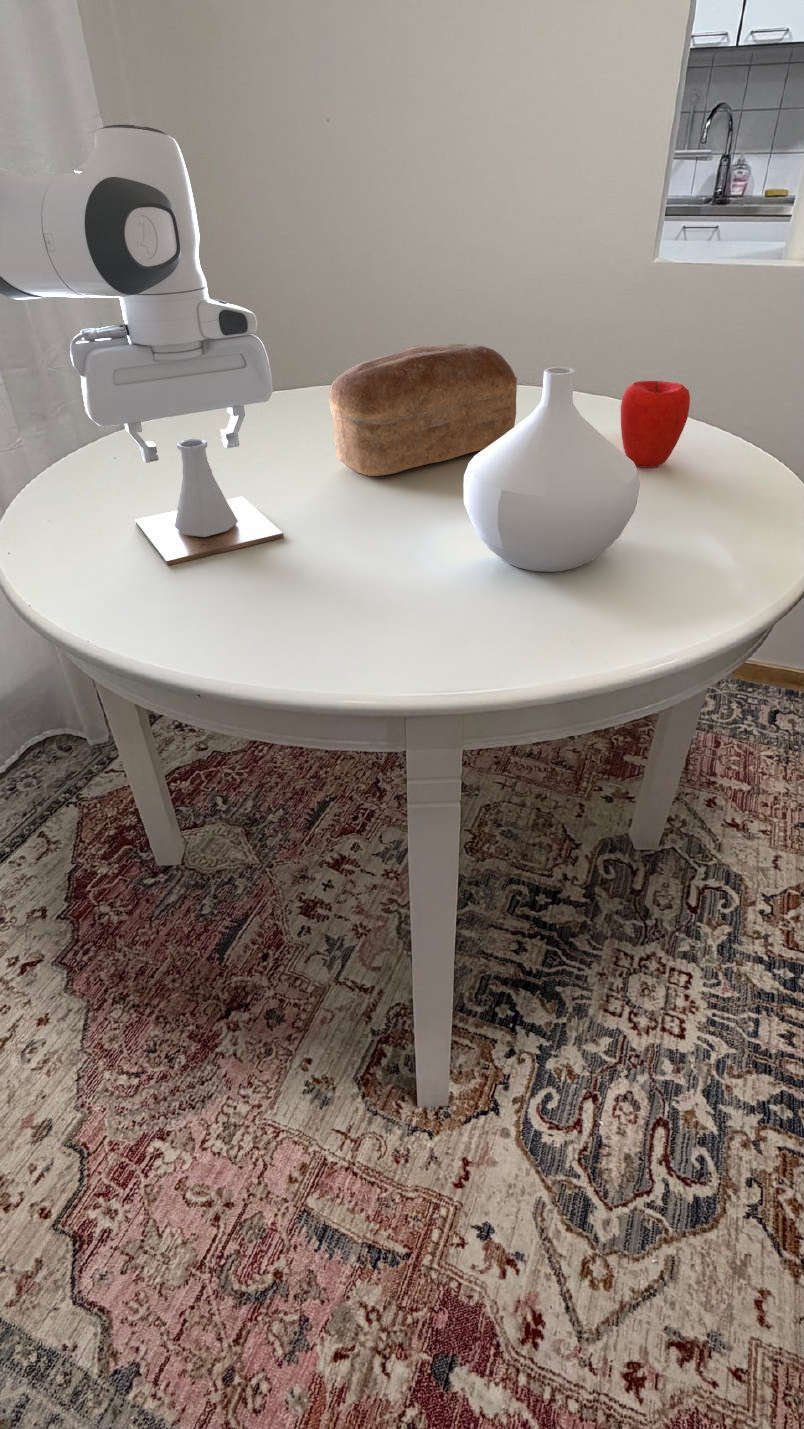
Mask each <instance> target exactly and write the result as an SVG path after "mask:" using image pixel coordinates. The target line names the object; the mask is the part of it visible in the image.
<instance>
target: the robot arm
mask: <svg viewBox="0 0 804 1429" xmlns="http://www.w3.org/2000/svg"><path fill="white" fill-rule="evenodd" d="M93 143H94V149H93V151H92V152H91V154H90V155H89V157H88V158H87V159H86V160H85V161H84V162H82V163H81V165H79V166H78V167H76V168H74V169H73V172H68V173H67V172H66V173H54V174H53V173H51V174H50V173H49V174H48V173H47V174H45V173H44V174H24V173H19V172H16V171H13V170H10V169H7V168H5V167H2V166H0V295H2V296H4V297H6V298H9V299H13V300H21V301H22V300H33V299H45V298H51V297H57V298H58V297H59V298H85V299H86V298H88V299H91V298H109V299H110V298H111V299H112V298H114V299H116V298H117V299H118V298H119V301H120V306H121V310H122V318H123V321H124V324H118V325H109V326H105V327H101V328H93V327H90V328H89V327H88V328H85V329H82V330H80V333H79V334H77V335H76V336H74V338H73V339H72V340H71V342H70V345H69V354H70V359H71V362H72V366H73V368H74V370H75V372H76V373H77V375H79V376H80V378H81V390H82V396H83V401H84V402H83V403H84V407H85V412H86V414H87V416H88V418H89V419H90V420H91V421H92V422H93V423H95V425H97V426H99V427H101V428H108V427H109V428H110V427H115V426H121V425H123V426H124V430H125V431H126V432H127V434H129V435H130V437H131V438H132V439H133V440H134V441H135V442H136V444H137V445H138V446H139V450H140V451H139V452H140V456H141V459H142V461H143V462H144V463H145V464H150V463H153V462H158V461H159V459H160V458H159V455H158V454H157V453H158V448H157V445H156V444H155V443H154V442H153V441H145V440H144V439H143V437H141V435H140V434H139V433H142V432H143V427H142V422H146V421H152V420H160V419H165V418H166V419H167V418H171V417H178V416H179V417H180V416H184V415H190V414H197V413H203V412H211V411H216V410H223V409H226V412H227V413H228V414H230V419H229V422H228V424H227V427H226V428H224V429H220V435H221V437H222V439H221V443H222V446H223V447H224V448H226V449H233V448H238V447H240V438H239V432H240V430H241V426H242V423H243V421H244V419H245V416H246V412H245V406H249V405H255V404H261V403H267V402H268V401H269V400H270V398H271V396H272V394H273V393H274V386H273V378H272V371H271V367H270V362H269V357H268V354H267V351H266V347H265V345H264V344H263V341H262V340H261V339H260V337H258V336H257V335H254V334H255V333H256V332H257V330H258V319H257V316H256V315H255V313H254V312H252V311H251V310H248V309H246V308H244V307H241V306H238V305H236V304H230V303H228V302H226V301H225V300H222V299H217V298H213V299H211V298H210V297H209V292H208V286H207V285H208V284H207V280H206V278H205V275H204V273H203V270H202V268H201V264H200V263H201V262H200V257H199V256H200V255H199V250H200V249H199V247H200V231H199V224H198V218H197V211H196V204H195V199H194V195H193V191H192V186H191V182H190V177H189V174H188V170H187V167H186V164H185V160H184V157H183V154H182V151H181V148H180V146H179V144H178V142H177V141H176V139H175V138H174V137H172V136H170V135H169V133H167V132H164V131H162V130H160V129H157V128H154V127H150V126H140V125H139V126H138V125H135V124H111V125H110V124H109V125H105V126H103V127H101V128H98V129H97V130H96V131H95V133H94V142H93ZM80 340H82V341H80Z"/></svg>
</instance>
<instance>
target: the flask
mask: <svg viewBox="0 0 804 1429" xmlns="http://www.w3.org/2000/svg"><path fill="white" fill-rule="evenodd" d="M176 448H177V450H179V451H180V455H181V462H182V479H181V486H180V493H179V499H178V504H177V509H176V511H177V514H176V519H175V525H174V527H175V528H176V529H177V530H178V531H180V532H181V533H182V534H184V535H192V536H200V537H206V536H210V535H214V534H217V533H221V532H225V531H228V530H229V529H230V528H231V527H233V526H234V525H235V524H236V523H238V522H239V521H238V519H237V518H236V516H235V514H234V512H233V511H232V509H231V507H230V505H229V504H228V502H227V500H228V499H226V497H225V495H224V493H223V491H222V489H221V488H220V486H219V484H218V481H217V480H216V478H215V476H214V474H213V471H212V469H211V466H210V463H209V460H208V456H207V451H206V450H207V449H206V448H208V442H207V441H206V440H204V439H200V438H190V439H185V440H181V441H179V442H178V443H176Z"/></svg>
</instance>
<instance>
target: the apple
mask: <svg viewBox="0 0 804 1429" xmlns="http://www.w3.org/2000/svg"><path fill="white" fill-rule="evenodd" d="M690 403H691V395H690V391H689V389H687V387H686V386H684V385H683V384H681V383H679V382H671V381H663V380H640V381H635V382H633V383H632V384H630V385H629V386H627V387H626V389H625V391H624V393H623V395H622V399H621V403H620V431H621V440H622V447H623V450H624V454H625V455H626V456H627V457H628V458H629V459H631V460H632V461H633V462H634V464H635V466H636V467H639V468H640V467H641V468H657V467H660V466H662V465H663V464H666V462H667V460H668V459H669V457H670V456H671V454H672V453H673V451H674V449H675V447H676V446H677V444H678V442H679V440H680V438H681V435H682V433H683V431H684V428H685V426H686V424H687V420H688V418H689V412H690V407H691V406H690V405H691V404H690Z"/></svg>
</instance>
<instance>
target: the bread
mask: <svg viewBox="0 0 804 1429" xmlns="http://www.w3.org/2000/svg"><path fill="white" fill-rule="evenodd" d="M517 387H518V377H517V376H516V374H515V372H514V370H513V367H512V366H511V365H510V364H509V363H508V362H507V360H506V359H505V358H504V356H503V355H502V354H500V353H499V352H497V351H496V350H494V349H493V348H490V347H488V346H484V345H480V344H467V343H466V344H465V343H463V344H462V343H461V344H460V343H459V344H455V343H454V344H436V345H419V346H418V345H417V346H412V347H408V348H406V349H403V350H400V351H396V352H393V353H390V354H385V355H383V356H380V357H375V358H372V359H369V360H366V361H362V362H360V363H358V364H355V365H354V366H352V367H349V368H348V369H346V370H345V371H344V372H342V373H341V374H340V375H339V376H337V378H335V380H333V382H332V383H331V386H330V391H329V397H328V398H329V402H328V403H329V407H330V412H331V413H330V414H331V423H332V432H333V440H334V446H335V455H336V459H337V460H339V461H340V462H341V463H343V464H344V465H345V466H346V467H347V468H349V469H350V470H352V471H353V472H357V473H358V474H361V475H365V476H370V477H380V476H387V475H388V476H389V475H393V474H397V473H401V472H403V471H406V470H409V469H413V468H417V467H420V466H421V467H422V466H424V465H428V464H434V463H439V462H443V461H448V460H452V459H454V458H458V457H460V456H464V455H467V454H470V453H474V452H478V451H482V450H484V449H485V448H487V447H488V446H489V445H491V444H492V443H494V442H495V441H496V440H498V439H499V438H501V437H502V436H503V435H505V434H506V433H507V432H509V431H510V430H511V429H513V428H514V427H515V426H516V419H517V418H516V416H517V391H518V388H517Z"/></svg>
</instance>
